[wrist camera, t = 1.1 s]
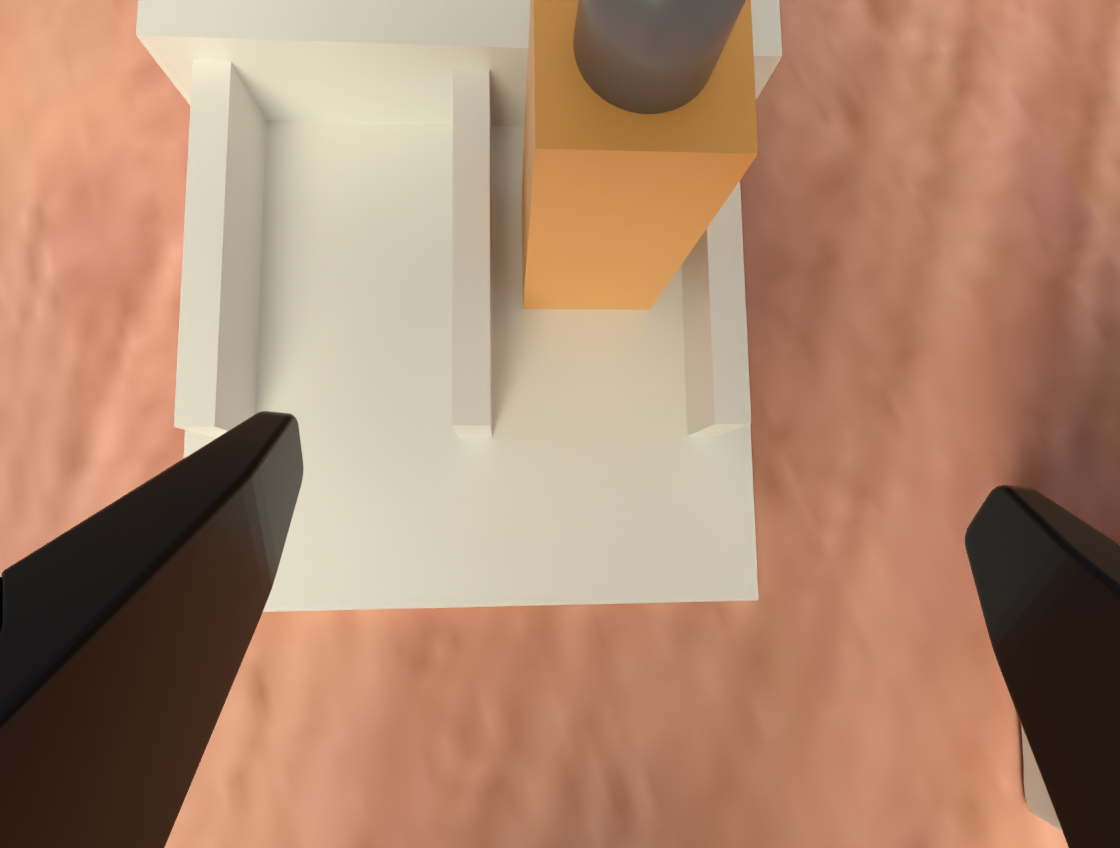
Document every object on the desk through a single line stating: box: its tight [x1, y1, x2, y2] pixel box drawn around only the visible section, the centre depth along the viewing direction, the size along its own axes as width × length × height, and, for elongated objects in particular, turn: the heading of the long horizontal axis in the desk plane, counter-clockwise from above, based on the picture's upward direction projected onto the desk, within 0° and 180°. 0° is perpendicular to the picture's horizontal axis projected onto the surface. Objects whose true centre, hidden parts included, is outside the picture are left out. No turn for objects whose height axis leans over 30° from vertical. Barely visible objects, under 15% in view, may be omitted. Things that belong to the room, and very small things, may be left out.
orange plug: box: [522, 0, 759, 310], centre depth 17 cm, size 4×4×13 cm
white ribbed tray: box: [136, 0, 782, 612], centre depth 21 cm, size 18×17×5 cm
